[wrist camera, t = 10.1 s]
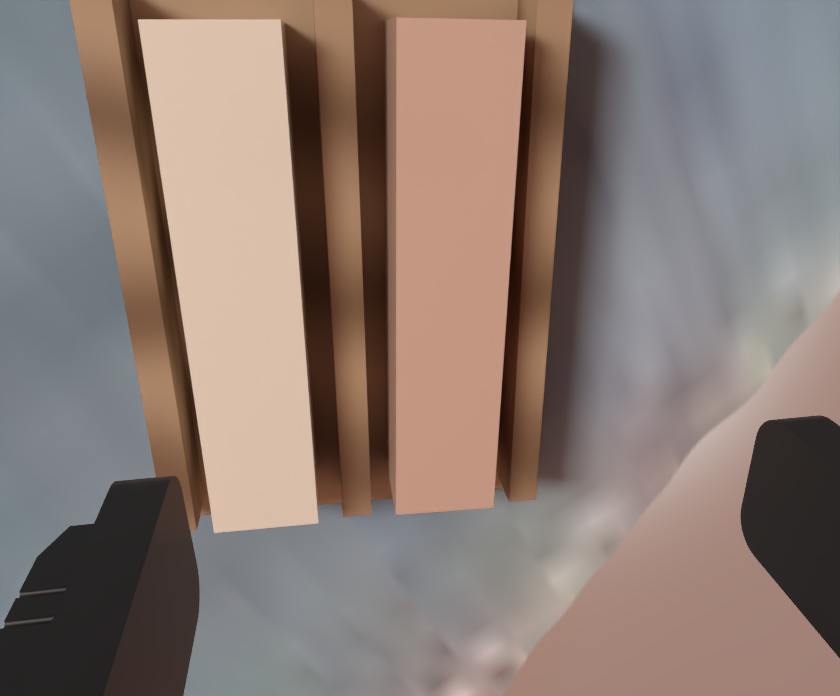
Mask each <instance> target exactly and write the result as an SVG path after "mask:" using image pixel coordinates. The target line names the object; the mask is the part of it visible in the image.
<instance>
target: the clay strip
mask: <svg viewBox="0 0 840 696" xmlns="http://www.w3.org/2000/svg"><path fill="white" fill-rule="evenodd" d="M526 22H527V20H494V19H446V18H397V17H396V18H392V19H388V20H384V21H383V38H384V218H385V399H386V464H387V470H388V475H389V480H390V486H391V491H392V497H393V502H394V507H395V513H396V515H402V514H415V513H428V512H441V511H454V510H467V509H479V508H492V507H494V494H495V479H496V464H497V449H498V435H499V420H500V405H501V390H502V376H503V361H504V346H505V331H506V317H507V302H508V287H509V272H510V258H511V243H512V228H513V213H514V199H515V184H516V169H517V154H518V140H519V125H520V110H521V95H522V81H523V66H524V51H525V36H526Z"/></svg>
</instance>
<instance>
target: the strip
mask: <svg viewBox="0 0 840 696" xmlns="http://www.w3.org/2000/svg"><path fill="white" fill-rule="evenodd" d="M138 24H139V31H140V38H141V45H142V51H143V58H144V65H145V72H146V78H147V85H148V92H149V99H150V105H151V112H152V119H153V125H154V132H155V139H156V146H157V152H158V159H159V166H160V173H161V179H162V186H163V193H164V199H165V206H166V213H167V220H168V226H169V233H170V240H171V247H172V253H173V260H174V267H175V273H176V280H177V287H178V294H179V300H180V307H181V314H182V321H183V327H184V334H185V341H186V347H187V354H188V361H189V368H190V374H191V381H192V388H193V395H194V401H195V408H196V415H197V422H198V428H199V435H200V442H201V448H202V455H203V462H204V469H205V475H206V482H207V489H208V496H209V502H210V509H211V516H212V522H213V529H214V533H219V532H230V531H241V530H251V529H262V528H273V527H284V526H294V525H305V524H316V523H318V482H317V458H316V445H315V431H314V417H313V403H312V390H311V376H310V362H309V349H308V335H307V321H306V308H305V294H304V280H303V267H302V253H301V239H300V225H299V212H298V198H297V184H296V171H295V157H294V143H293V130H292V116H291V102H290V89H289V75H288V61H287V47H286V34H285V22H283V21H282V20H281V19H138Z"/></svg>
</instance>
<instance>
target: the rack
mask: <svg viewBox="0 0 840 696" xmlns="http://www.w3.org/2000/svg"><path fill="white" fill-rule="evenodd" d="M69 1H70V6H71V12H72V17H73V23H74V28H75V34H76V39H77V45H78V50H79V56H80V61H81V67H82V72H83V78H84V83H85V89H86V94H87V100H88V105H89V111H90V116H91V122H92V127H93V133H94V138H95V144H96V149H97V155H98V160H99V166H100V171H101V177H102V182H103V187H104V193H105V198H106V204H107V209H108V215H109V220H110V226H111V231H112V237H113V242H114V248H115V253H116V259H117V264H118V270H119V275H120V281H121V286H122V292H123V297H124V303H125V308H126V314H127V319H128V325H129V330H130V336H131V341H132V347H133V352H134V358H135V363H136V369H137V374H138V380H139V385H140V391H141V396H142V402H143V407H144V413H145V418H146V424H147V429H148V435H149V440H150V446H151V451H152V457H153V462H154V468H155V473H156V477H167V476H176V477H177V478H178V479H179V482H180V484H181V488H182V492H183V497H184V502H185V507H186V512H187V517H188V522H189V528H190V531H195V530H197V527H198V522H199V518H200V515H209V514H211V509H210V502H209V496H208V489H207V482H206V475H205V469H204V462H203V455H202V448H201V442H200V435H199V428H198V422H197V415H196V408H195V401H194V395H193V388H192V381H191V374H190V368H189V361H188V354H187V347H186V341H185V334H184V327H183V321H182V314H181V307H180V300H179V294H178V287H177V280H176V273H175V267H174V260H173V253H172V247H171V240H170V233H169V226H168V220H167V213H166V206H165V199H164V193H163V186H162V179H161V173H160V166H159V159H158V152H157V146H156V139H155V132H154V125H153V119H152V112H151V105H150V99H149V92H148V85H147V78H146V72H145V65H144V58H143V51H142V45H141V38H140V31H139V24H138V19H281V20H282V21H283V22H285V34H286V47H287V61H288V75H289V89H290V102H291V116H292V130H293V143H294V157H295V171H296V184H297V198H298V212H299V225H300V239H301V253H302V267H303V280H304V294H305V308H306V321H307V335H308V349H309V362H310V376H311V390H312V403H313V417H314V431H315V445H316V458H317V482H318V505H321V504H332V503H342V507H343V517H347V516H358V515H369V514H372V511H371V500H377V499H388V498H393V497H392V491H391V486H390V480H389V475H388V470H387V464H386V399H385V218H384V38H383V21H384V20H388V19H392V18H396V17H397V18H446V19H494V20H527V22H526V36H525V51H524V66H523V81H522V95H521V110H520V125H519V140H518V154H517V169H516V184H515V199H514V213H513V228H512V243H511V258H510V272H509V287H508V302H507V317H506V331H505V346H504V361H503V376H502V390H501V405H500V420H499V435H498V449H497V464H496V479H495V489H500V488H504V491H505V493H506V495H507V498H508V500H509V502H510V501H521V500H532V499H536V491H537V478H538V465H539V451H540V438H541V425H542V411H543V398H544V385H545V371H546V358H547V345H548V331H549V318H550V305H551V291H552V278H553V265H554V251H555V238H556V225H557V211H558V198H559V185H560V171H561V158H562V145H563V131H564V118H565V105H566V91H567V78H568V65H569V51H570V38H571V25H572V11H573V0H69Z"/></svg>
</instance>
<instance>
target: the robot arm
mask: <svg viewBox="0 0 840 696" xmlns="http://www.w3.org/2000/svg"><path fill="white" fill-rule="evenodd" d="M741 525H742V531H743V534H744V537H745V540H746V543H747V545H748V547H749V549H750V550H751V552H752V553H753V555H754V556H755V557H756V559H757V560H758V561H759V562H760V563H761V565H762V566H763V567H764V568H765V569H766V570H767V572H768V573H769V574H770V575H771V576H772V578H773V579H774V580H775V581H776V582H777V583H778V585H779V586H780V587H781V589H782V590H783V591H784V592H785V593H786V595H787V596H788V597H789V598H790V599H791V600H792V602H793V603H794V604H795V605H796V606H797V608H798V609H799V610H800V611H801V612H802V614H803V615H804V616H805V617H806V618H807V620H808V621H809V622H810V623H811V624H812V626H813V627H814V628H815V629H816V630H817V632H818V633H819V634H820V635H821V636H822V638H823V639H824V640H825V641H826V642H827V643H828V645H829V646H830V647H831V648H832V650H833V651H834V652H835V653H836V654H837V656H838V657H839V658H840V426H838V425H837V424H836V423H835V422H833V421H832V420H830V419H828V418H827V417H824V416H809V417H799V418H788V419H778V420H769V421H766V422H765V423H764V424H763V425H761V427H760V428H759V431H758V433H757V436H756V440H755V445H754V450H753V455H752V460H751V464H750V469H749V474H748V478H747V483H746V488H745V493H744V498H743V503H742V508H741ZM198 613H199V576H198V569H197V563H196V558H195V553H194V548H193V543H192V538H191V533H190V528H189V522H188V517H187V512H186V507H185V502H184V497H183V492H182V488H181V484H180V482H179V479H178V478H177V477H176V476H167V477H156V478H146V479H135V480H125V481H116V482H114V483H113V484H112V485H111V487H110V489H109V491H108V493H107V496H106V498H105V500H104V502H103V505H102V507H101V509H100V512H99V514H98V516H97V519H96V521H95V523H94V524H87V525H77V526H70V527H69V528H68V529H67V530H65V531H64V532H63V533H62V534H61V535H60V536H59V537H58V538H57V539H56V540H55V541H54V542H53V543H52V544H51V545H49V546H48V547H47V548H46V549H45V550H44V551H43V552H42V553H41V554H40V555H39V556H38V557H37V559H36V560H35V562H34V564H33V566H32V568H31V570H30V572H29V574H28V576H27V578H26V580H25V582H24V584H23V586H22V588H21V590H20V597H19V598H16V599H15V601H14V603H13V605H12V607H11V609H10V611H9V613H8V615H7V617H6V619H5V621H4V622H5V626H4V628H3V629H0V696H183V694H184V689H185V683H186V678H187V673H188V668H189V662H190V657H191V652H192V647H193V641H194V636H195V631H196V626H197V620H198Z"/></svg>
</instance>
